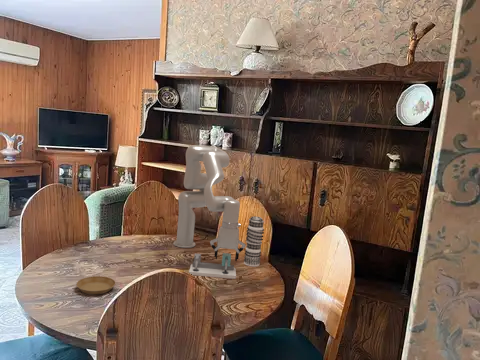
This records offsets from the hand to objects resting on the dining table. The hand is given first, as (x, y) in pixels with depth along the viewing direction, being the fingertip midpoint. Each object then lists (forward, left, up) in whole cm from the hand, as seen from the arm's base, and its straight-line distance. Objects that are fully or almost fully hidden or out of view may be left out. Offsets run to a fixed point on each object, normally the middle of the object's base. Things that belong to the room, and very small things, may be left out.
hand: (226, 259), depth 187 cm
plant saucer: (+31, -52, -7) cm, 61 cm away
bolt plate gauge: (+3, -6, -6) cm, 9 cm away
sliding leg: (+2, 0, -4) cm, 5 cm away
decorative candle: (-15, +14, -7) cm, 22 cm away
